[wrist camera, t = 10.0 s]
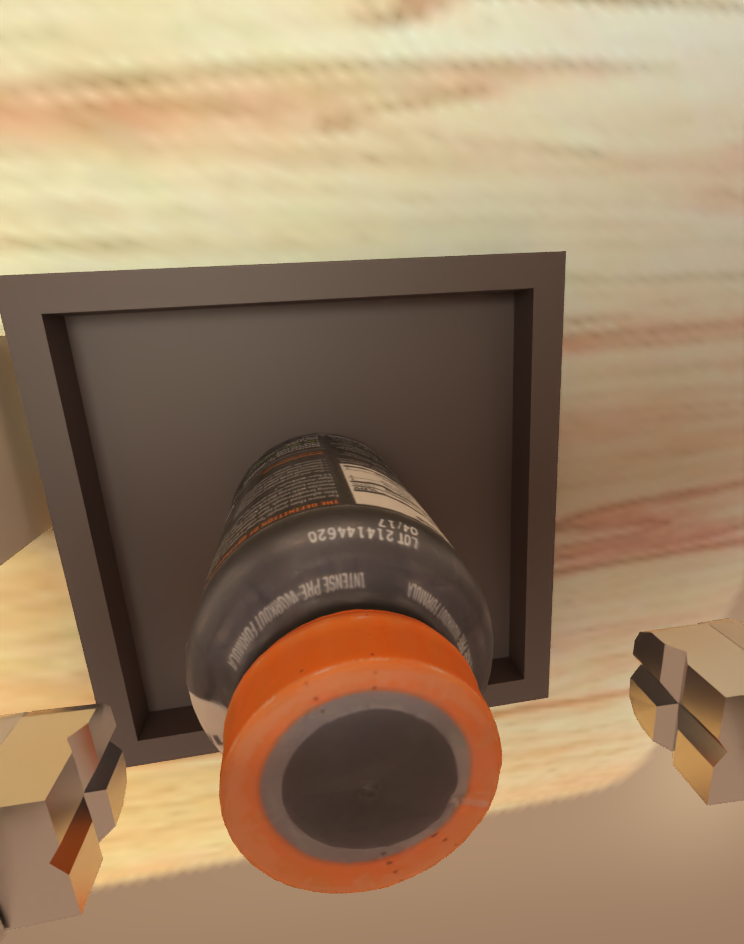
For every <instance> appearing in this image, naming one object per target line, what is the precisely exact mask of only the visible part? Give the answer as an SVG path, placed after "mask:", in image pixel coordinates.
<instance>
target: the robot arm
mask: <svg viewBox="0 0 744 944" xmlns="http://www.w3.org/2000/svg"><path fill="white" fill-rule="evenodd" d="M633 655H634V656H635V658H636V659H637V660H638V662H639V663H640V664H641V665H640V666H639V668H638V669H637V670H636V671H635V673H634V674H633V675H632V677H631V678H630V695H629V696H630V700H631V703H632V707H633V711H634V714H635V716H636V718H637V720H638V721H639V723H640V725H641V727H642V728H643V730H644V731H645V732H646V733H647V735H648V736H649V737H650V738H651V739H652V741H654V742H656V743H658V744H660V745H661V746H663V747H665V748H667V749H669V750H671V751H672V755H673V766H674V767H675V768H676V769H677V770H678V772H680V774H681V775H682V776H683V778H684V779H685V780H686V781H687V782H688V783H689V784H690V786H691V787H692V788H693V789H694V791H695V792H696V793H697V794H698V795H699V796H700V798H701V799H702V800H703V801H704V802H705V803H706V805H713V804H721V803H727V802H735V801H742V800H744V624H743V623H742V622H739V621H736V620H733V619H729V618H726V619H720V620H713V621H707V622H701V623H698V624H695V625H687V626H680V627H673V628H666V629H659V630H651V631H644V632H640V633H639V634H638V636H637V638H636V639H635V643H634V651H633ZM115 728H116V723H115V720H114V716H113V713H112V710H111V707H110V706H108V705H106V704H104V703H101V704H92V705H83V706H74V707H65V708H56V709H47V710H38V711H32V712H23V713H15V714H7V715H0V942H1V941H2V940H3V938H4V937H5V936H6V930H11V929H16V928H21V927H26V926H31V925H36V924H40V923H45V922H50V921H55V920H60V919H65V918H69V917H74V916H79V915H81V914H82V912H83V909H84V907H85V904H86V902H87V899H88V897H89V894H90V891H91V889H92V886H93V884H94V881H95V879H96V876H97V873H98V871H99V868H100V866H101V863H102V860H103V857H102V854H101V850H100V846H99V842H100V841H101V840H102V839H103V838H104V837H105V836H106V835H107V834H108V833H109V832H110V831H111V830H112V829H113V828H114V827H115V826H116V824H117V821H118V818H119V815H120V812H121V810H122V807H123V802H124V796H125V790H126V783H127V777H126V763H125V759H124V754H123V751H122V750H121V749H120V748H118V747H117V746H116V745H114V744H113V743H112V742H111V741H110V738H111V736H112V734H113V732H114V730H115Z"/></svg>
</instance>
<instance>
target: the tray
mask: <svg viewBox="0 0 744 944" xmlns="http://www.w3.org/2000/svg"><path fill="white" fill-rule="evenodd" d="M565 261H566V251H561V252H537V253H514V254H491V255H467V256H444V257H421V258H397V259H374V260H351V261H327V262H304V263H281V264H257V265H234V266H211V267H187V268H164V269H141V270H117V271H94V272H71V273H48V274H24V275H1V276H0V314H1V318H2V322H3V326H4V330H5V334H6V339H7V343H8V347H9V351H10V355H11V359H12V363H13V367H14V371H15V375H16V379H17V383H18V387H19V391H20V395H21V400H22V404H23V408H24V412H25V416H26V420H27V424H28V428H29V432H30V436H31V440H32V444H33V448H34V452H35V456H36V460H37V465H38V469H39V473H40V477H41V481H42V485H43V489H44V493H45V497H46V501H47V505H48V509H49V513H50V517H51V521H52V525H53V530H54V534H55V538H56V542H57V546H58V550H59V554H60V558H61V562H62V566H63V570H64V574H65V578H66V582H67V586H68V591H69V595H70V599H71V603H72V607H73V611H74V615H75V619H76V623H77V627H78V631H79V635H80V639H81V643H82V647H83V651H84V656H85V660H86V664H87V668H88V672H89V676H90V680H91V684H92V688H93V692H94V696H95V700H96V704H101V703H104V704H106V705H108V706H110V707H111V710H112V713H113V716H114V720H115V723H116V728H115V730H114V732H113V734H112V736H111V738H110V741H111V742H112V743H113V744H114V745H116V746H117V747H118V748H120V749H121V750H122V751H123V754H124V759H125V763H126V767H132V766H138V765H144V764H150V763H156V762H162V761H168V760H174V759H180V758H186V757H192V756H198V755H204V754H210V753H216V752H220V751H219V750H218V749H217V747H216V746H215V745H214V744H213V742H212V741H211V740H210V739H209V737H208V736H207V734H206V732H205V731H204V729H203V727H202V726H201V724H200V722H199V719H198V717H197V715H196V713H195V710H194V708H193V705H192V701H191V697H190V694H189V690H188V686H187V682H186V672H185V662H186V660H185V649H186V643H187V638H188V633H189V630H190V626H191V623H192V620H193V617H194V614H195V611H196V608H197V605H198V602H199V599H200V596H201V593H202V591H203V588H204V585H205V582H206V579H207V576H208V573H209V570H210V567H211V564H212V560H213V558H214V555H215V552H216V549H217V547H218V543H219V540H220V537H221V534H222V531H223V528H224V526H225V523H226V520H227V516H228V513H229V511H230V508H231V504H232V500H233V497H234V494H235V492H236V490H237V488H238V485H239V483H240V482H241V480H242V479H243V477H244V476H245V474H246V473H247V471H248V469H249V468H250V467H251V465H252V464H253V463H254V462H255V461H256V460H257V459H258V458H259V457H260V456H262V455H263V454H264V453H265V452H266V451H268V450H269V449H271V448H273V447H274V446H276V445H278V444H280V443H282V442H284V441H286V440H288V439H291V438H295V437H299V436H303V435H309V434H314V433H322V434H335V435H340V436H344V437H347V438H351V439H354V440H356V441H358V442H361V443H363V444H364V445H366V446H368V447H369V448H371V449H372V450H374V451H375V452H376V453H378V454H379V455H380V456H381V457H382V458H383V459H384V460H385V461H386V463H387V464H388V465H389V466H390V467H391V469H392V470H393V471H394V472H395V473H396V475H397V476H398V477H399V479H400V480H401V481H402V482H403V484H404V485H405V486H406V488H407V489H408V490H409V491H410V492H411V494H412V495H413V497H414V498H415V499H416V500H417V502H418V503H419V504H420V505H421V507H422V508H423V509H424V511H425V512H426V513H427V514H428V516H429V517H430V518H431V519H432V521H433V522H434V523H435V525H436V526H437V527H438V528H439V529H440V531H441V532H442V533H443V534H444V536H445V537H446V538H447V540H448V541H449V543H450V544H451V545H452V547H453V548H454V549H455V550H456V552H457V553H458V554H459V555H460V557H461V558H462V559H463V560H464V561H465V562H466V563H467V565H468V567H469V568H470V570H471V572H472V573H473V575H474V577H475V578H476V580H477V582H478V583H479V585H480V587H481V590H482V592H483V594H484V596H485V599H486V602H487V605H488V608H489V612H490V616H491V622H492V631H493V659H492V666H491V673H490V677H489V680H488V684H487V687H486V690H485V693H484V695H483V698H484V700H485V701H486V703H487V705H488V707H494V706H500V705H506V704H512V703H518V702H524V701H530V700H536V699H542V698H548V691H549V666H550V641H551V615H552V590H553V565H554V539H555V514H556V489H557V464H558V438H559V413H560V388H561V363H562V337H563V312H564V287H565Z"/></svg>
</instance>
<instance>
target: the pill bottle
mask: <svg viewBox="0 0 744 944" xmlns="http://www.w3.org/2000/svg"><path fill="white" fill-rule="evenodd" d="M492 659H493V631H492V622H491V616H490V612H489V608H488V605H487V602H486V599H485V596H484V594H483V592H482V590H481V587H480V585H479V583H478V582H477V580H476V578H475V577H474V575H473V573H472V572H471V570H470V568H469V567H468V565H467V563H466V562H465V561H464V560H463V559H462V558H461V557H460V555H459V554H458V553H457V552H456V550H455V549H454V548H453V547H452V545H451V544H450V543H449V541H448V540H447V538H446V537H445V536H444V534H443V533H442V532H441V531H440V529H439V528H438V527H437V526H436V525H435V523H434V522H433V521H432V519H431V518H430V517H429V516H428V514H427V513H426V512H425V511H424V509H423V508H422V507H421V505H420V504H419V503H418V502H417V500H416V499H415V498H414V497H413V495H412V494H411V492H410V491H409V490H408V489H407V488H406V486H405V485H404V484H403V482H402V481H401V480H400V479H399V477H398V476H397V475H396V473H395V472H394V471H393V470H392V469H391V467H390V466H389V465H388V464H387V463H386V461H385V460H384V459H383V458H382V457H381V456H380V455H379V454H378V453H376V452H375V451H374V450H372V449H371V448H369V447H368V446H366V445H364V444H363V443H361V442H358V441H356V440H354V439H351V438H347V437H344V436H340V435H335V434H322V433H314V434H309V435H303V436H299V437H295V438H291V439H288V440H286V441H284V442H282V443H280V444H278V445H276V446H274V447H273V448H271V449H269V450H268V451H266V452H265V453H264V454H263V455H262V456H260V457H259V458H258V459H257V460H256V461H255V462H254V463H253V464H252V465H251V467H250V468H249V469H248V471H247V473H246V474H245V476H244V477H243V479H242V480H241V482H240V483H239V485H238V488H237V490H236V492H235V494H234V497H233V500H232V504H231V508H230V511H229V513H228V516H227V520H226V523H225V526H224V528H223V531H222V534H221V537H220V540H219V543H218V547H217V549H216V552H215V555H214V558H213V560H212V564H211V567H210V570H209V573H208V576H207V579H206V582H205V585H204V588H203V591H202V593H201V596H200V599H199V602H198V605H197V608H196V611H195V614H194V617H193V620H192V623H191V626H190V630H189V633H188V638H187V643H186V649H185V660H186V662H185V672H186V682H187V686H188V690H189V694H190V697H191V701H192V705H193V708H194V710H195V713H196V715H197V717H198V719H199V722H200V724H201V726H202V727H203V729H204V731H205V732H206V734H207V736H208V737H209V739H210V740H211V741H212V742H213V744H214V745H215V746H216V747H217V749H218V750H219V751H220V752H221V753H222V754H223V758H222V765H221V772H220V790H219V797H220V805H221V813H222V817H223V820H224V823H225V826H226V828H227V830H228V833H229V835H230V837H231V839H232V841H233V842H234V844H235V845H236V847H237V848H238V849H239V851H240V852H241V853H242V854H243V855H244V857H245V858H246V859H247V860H248V861H249V862H250V863H251V864H252V865H254V866H255V867H256V868H258V869H259V870H261V871H262V872H263V873H265V874H267V875H268V876H270V877H272V878H273V879H274V880H277V881H280V882H282V883H284V884H286V885H289V886H292V887H295V888H299V889H304V890H309V891H313V892H321V893H354V892H364V891H369V890H375V889H381V888H385V887H389V886H391V885H394V884H396V883H399V882H401V881H404V880H406V879H408V878H411V877H413V876H415V875H417V874H419V873H421V872H423V871H425V870H427V869H429V868H431V867H432V866H434V865H436V864H437V863H438V862H439V861H440V860H442V859H444V858H445V857H447V856H448V855H449V854H451V853H452V852H453V851H454V850H455V849H456V848H457V847H458V846H460V845H461V844H462V843H463V842H464V841H465V840H466V839H467V837H468V836H469V835H470V834H471V833H472V831H473V830H474V829H475V828H476V827H477V825H478V824H479V823H480V822H481V821H482V819H483V817H484V816H485V814H486V813H487V811H488V809H489V807H490V805H491V802H492V800H493V798H494V795H495V792H496V789H497V784H498V779H499V773H500V768H501V765H502V749H501V743H500V737H499V733H498V730H497V726H496V723H495V721H494V718H493V716H492V713H491V711H490V709H489V707H488V705H487V703H486V701H485V700H484V698H483V695H484V693H485V690H486V687H487V684H488V680H489V677H490V673H491V666H492Z"/></svg>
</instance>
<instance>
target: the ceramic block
mask: <svg viewBox="0 0 744 944" xmlns="http://www.w3.org/2000/svg"><path fill="white" fill-rule="evenodd" d="M51 526H52V521H51V517H50V513H49V509H48V505H47V501H46V497H45V493H44V489H43V485H42V481H41V477H40V473H39V469H38V465H37V460H36V456H35V452H34V448H33V444H32V440H31V436H30V432H29V428H28V424H27V420H26V416H25V412H24V408H23V404H22V400H21V395H20V391H19V387H18V383H17V379H16V375H15V371H14V367H13V363H12V359H11V355H10V351H9V347H8V343H7V339H6V336H0V565H2V564H3V563H4V562H6V561H7V560H8V559H10V558H11V557H12V556H13V555H15V554H16V553H17V552H19V551H20V550H21V549H23V548H24V547H25V546H26V545H28V544H29V543H30V542H32V541H33V540H34V539H36V538H37V537H38V536H39V535H41V534H42V533H43V532H45V531H46V530H47V529H49V528H50V527H51Z"/></svg>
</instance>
